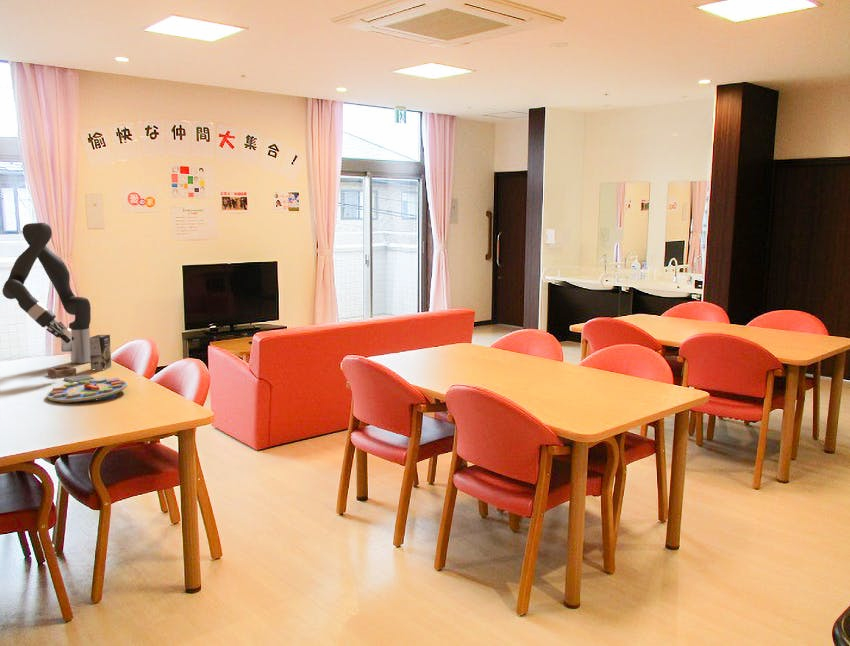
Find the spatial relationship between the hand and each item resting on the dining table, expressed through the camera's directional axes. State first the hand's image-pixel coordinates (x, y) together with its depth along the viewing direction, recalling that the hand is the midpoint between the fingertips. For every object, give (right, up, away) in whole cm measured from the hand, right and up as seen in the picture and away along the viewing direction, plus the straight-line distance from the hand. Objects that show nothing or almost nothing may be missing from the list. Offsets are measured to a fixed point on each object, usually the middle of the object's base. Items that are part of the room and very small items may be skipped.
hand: (71, 340), depth 330 cm
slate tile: (+4, -18, -2) cm, 18 cm away
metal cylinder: (-2, -5, 0) cm, 5 cm away
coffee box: (+4, -14, +23) cm, 27 cm away
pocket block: (-8, -16, +8) cm, 20 cm away
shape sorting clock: (+21, -23, -29) cm, 42 cm away
